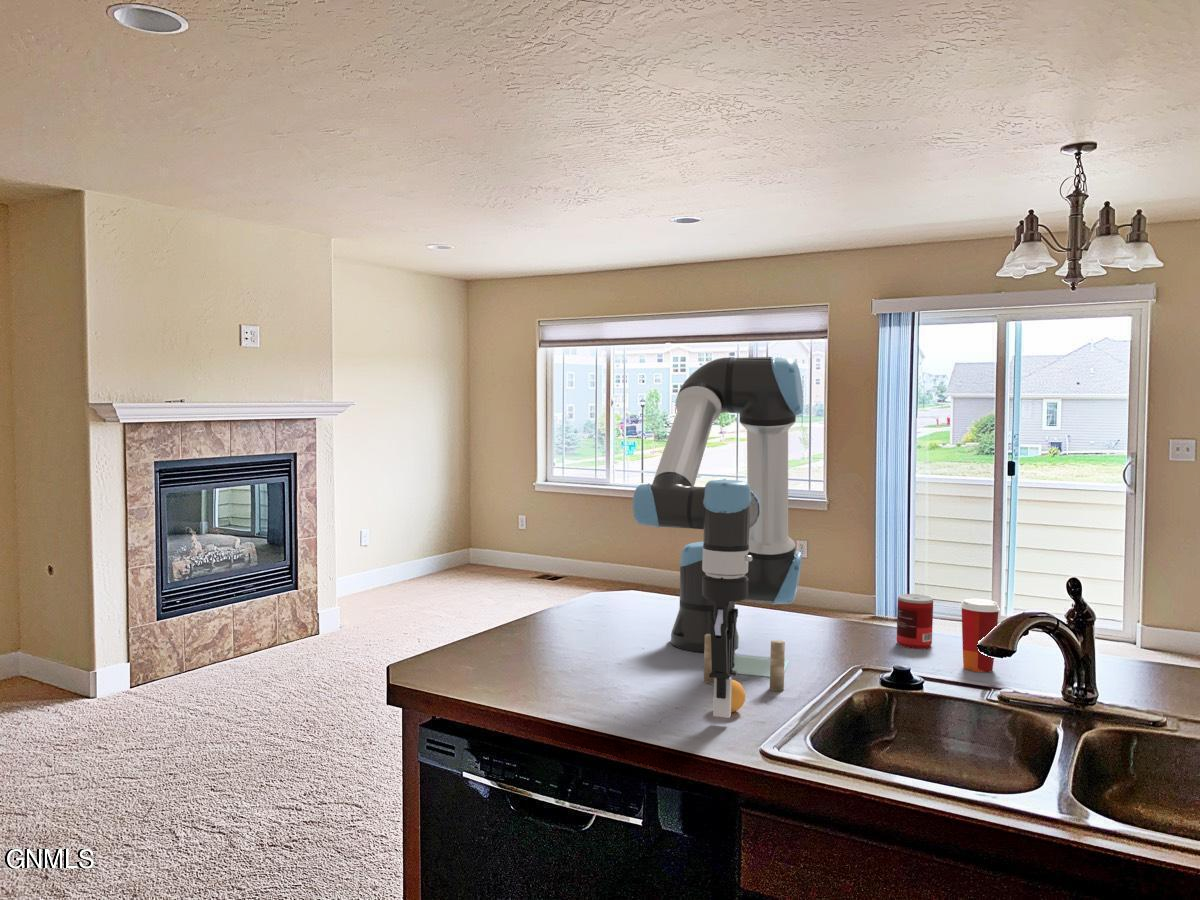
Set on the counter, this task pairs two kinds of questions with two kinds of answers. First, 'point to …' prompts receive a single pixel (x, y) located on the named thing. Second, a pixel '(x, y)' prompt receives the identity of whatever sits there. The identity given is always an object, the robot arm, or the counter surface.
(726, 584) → the robot arm
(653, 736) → the counter surface
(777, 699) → the counter surface
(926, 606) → the canned food
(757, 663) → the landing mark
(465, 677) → the counter surface
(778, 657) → the right post
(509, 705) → the counter surface
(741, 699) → the ball
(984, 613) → the paper cup
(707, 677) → the left post
